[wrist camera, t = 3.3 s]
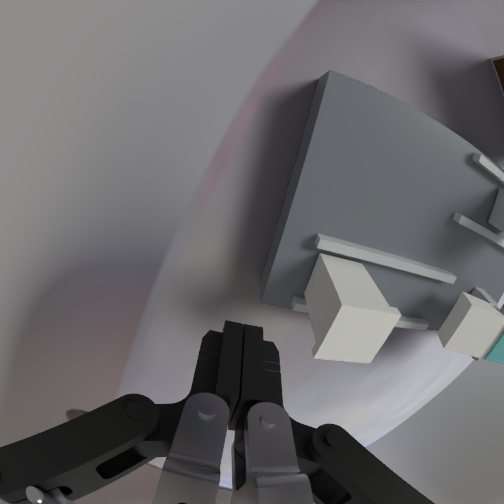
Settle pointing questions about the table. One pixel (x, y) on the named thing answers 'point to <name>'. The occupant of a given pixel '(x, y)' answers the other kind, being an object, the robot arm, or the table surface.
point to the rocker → (474, 329)
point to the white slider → (347, 311)
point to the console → (387, 206)
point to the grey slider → (498, 211)
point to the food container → (499, 71)
